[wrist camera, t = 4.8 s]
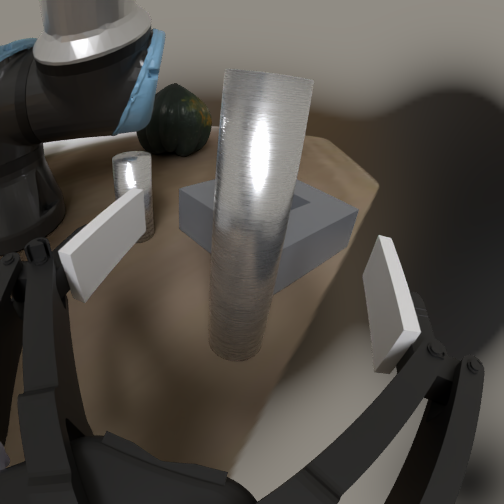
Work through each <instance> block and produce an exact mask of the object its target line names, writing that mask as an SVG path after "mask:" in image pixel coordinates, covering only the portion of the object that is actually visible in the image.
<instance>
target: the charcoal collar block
mask: <svg viewBox="0 0 504 504" xmlns="http://www.w3.org/2000/svg"><path fill="white" fill-rule="evenodd" d="M214 193H215V179H214V180H210V181H206V182H202V183H198V184H195V185H191V186H187V187H183V188H180V189H179V229H180V230H182V231H183V232H184V233H185V234H187V235H188V236H189V237H190V238H192V239H193V240H194V241H195V242H197V243H198V244H199V245H200V246H202V247H203V248H204V249H206V250H207V251H208V252H209V253H211V248H212V228H213V209H214ZM358 211H359V209H357V208H355V207H353V206H351V205H349V204H347V203H345V202H343V201H341V200H339V199H337V198H335V197H333V196H331V195H329V194H327V193H324V192H322V191H320V190H318V189H316V188H314V187H312V186H310V185H308V184H305V183H303V182H301V181H299V180H296V185H295V190H294V195H293V201H292V206H291V211H290V216H289V221H288V226H287V230H286V235H285V240H284V245H283V250H282V255H281V259H280V264H279V269H278V273H277V278H276V283H275V287H274V292H273V295H274V294H276V293H277V292H279V291H280V290H282V289H283V288H285V287H287V286H288V285H290V284H291V283H293V282H294V281H296V280H297V279H299V278H300V277H302V276H303V275H305V274H307V273H308V272H310V271H311V270H313V269H314V268H316V267H317V266H319V265H320V264H322V263H323V262H325V261H326V260H328V259H329V258H331V257H332V256H334V255H335V254H337V253H338V252H339V251H341V250H342V249H344V248H345V247H347V245H348V242H349V239H350V236H351V233H352V230H353V227H354V224H355V220H356V217H357V214H358Z"/></svg>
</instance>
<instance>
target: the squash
mask: <svg viewBox="0 0 504 504" xmlns="http://www.w3.org/2000/svg"><path fill="white" fill-rule="evenodd" d="M211 126H212V120H211V115H210V112H209V109H208V108H207V106H206V105H205V104H204V103H203V102H202V101H201V100H200V99H199V98H198V97H196V96H195V95H194V94H193V93H191V92H190V91H188V90H187V89H185V88H184V87H182V86H180V85H178V84H177V83H174V84H171V85H168V86H167V87H165V88H164V89H162V90H161V91H160V92H158V93H157V94H155V100H154V105H153V111H152V116H151V120H150V122H149V124H148V125H147V126H146V127H145V128H143V129H141V130H140V131H137V136H138V139H139V142H140V144H141V146H142V147H143V148H144V149H145V150H146V151H148V152H150V153H153V154H160V153H164V152H166V151H168V152H173V151H175V152H176V153H177V154H178V155H180V156H187V155H190V154H191V153H192V152H195V151H197V150H199V149H201V148H202V147H203V146H204V145H205V144H206V142H207V140H208V138H209V135H210V132H211Z"/></svg>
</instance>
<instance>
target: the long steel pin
mask: <svg viewBox="0 0 504 504" xmlns="http://www.w3.org/2000/svg"><path fill="white" fill-rule="evenodd" d="M313 84H314V80H311V79H306V78H300V77H294V76H288V75H281V74H275V73H267V72H259V71H250V70H238V69H225V76H224V85H223V95H222V105H221V116H220V127H219V138H218V151H217V164H216V178H215V193H214V209H213V228H212V248H211V273H210V304H209V344H210V347H211V348H212V350H213V351H214V352H215V353H216V354H217V355H218V356H220V357H221V358H223V359H226V360H230V361H244V360H248V359H250V358H252V357H253V356H255V355H256V354H257V353H258V352H259V350H260V348H261V344H262V340H263V336H264V332H265V327H266V323H267V318H268V314H269V310H270V305H271V301H272V296H273V292H274V287H275V283H276V278H277V273H278V269H279V264H280V259H281V255H282V250H283V245H284V240H285V235H286V230H287V226H288V221H289V216H290V211H291V206H292V201H293V195H294V190H295V185H296V180H297V175H298V169H299V164H300V159H301V153H302V148H303V142H304V137H305V131H306V125H307V120H308V114H309V108H310V102H311V96H312V90H313Z"/></svg>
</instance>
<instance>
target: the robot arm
mask: <svg viewBox="0 0 504 504" xmlns="http://www.w3.org/2000/svg"><path fill="white" fill-rule="evenodd" d="M39 2H40V9H41V15H42V20H43V26H44V30H43V31H42V33H41V34H40V36H39V37H38V39H36V38H28V39H21V40H18V41H14V42H11V43H9V44H7V45H2V46H0V255H5V254H6V255H5V256H4V257H2V258H1V259H0V504H337V503H338V502H339V500H340V497H341V496H342V494H344V492H346V491H347V490H348V489H349V488H350V487H351V486H352V485H353V483H355V482H356V481H357V480H358V478H359V477H360V476H361V475H362V474H363V473H364V472H365V471H366V470H367V469H368V468H369V467H370V466H371V465H372V463H373V462H374V461H375V460H376V459H377V458H378V457H379V455H380V454H381V453H382V452H383V450H385V448H386V447H387V446H388V445H389V444H390V442H391V441H392V440H393V439H394V437H395V436H396V434H398V432H399V431H400V430H401V428H402V427H403V426H404V424H405V423H406V422H407V420H408V419H409V418H410V416H411V415H412V413H413V412H414V411H415V409H416V408H417V406H418V405H419V403H420V402H421V400H422V399H423V397H424V398H426V399H428V402H427V405H426V408H425V411H424V414H423V417H422V420H421V423H420V425H419V428H418V431H417V434H416V436H415V439H414V441H413V444H412V446H411V449H410V451H409V453H408V456H407V458H406V460H405V463H404V465H403V467H402V469H401V471H400V473H399V476H398V478H397V480H396V482H395V484H394V486H393V488H392V490H391V492H390V494H389V496H388V497H387V499H386V501H385V503H384V504H455V501H456V498H457V496H458V493H459V490H460V487H461V484H462V481H463V478H464V475H465V471H466V468H467V465H468V461H469V457H470V454H471V450H472V445H473V441H474V436H475V432H476V427H477V422H478V416H479V411H480V405H481V398H482V390H483V382H484V367H483V365H482V363H481V362H480V360H479V359H478V358H476V357H475V356H473V355H466V356H465V357H463V358H462V360H461V361H459V360H457V359H455V358H452V357H450V356H448V355H447V350H446V349H445V347H444V345H443V344H442V343H441V342H439V341H438V340H436V339H435V338H434V334H433V331H432V327H431V324H430V320H429V317H428V314H427V311H426V308H425V304H424V301H423V300H422V299H421V297H420V296H419V295H418V293H416V292H411V291H409V288H408V285H407V283H406V279H405V276H404V273H403V270H402V267H401V264H400V261H399V258H398V256H397V253H396V250H395V247H394V244H393V242H392V239H391V238H388V237H384V236H380V235H379V236H378V238H377V240H376V243H375V245H374V248H373V251H372V253H371V256H370V258H369V261H368V263H367V266H366V268H365V271H364V273H363V282H364V288H365V295H366V302H367V308H368V317H369V325H370V333H371V343H372V353H373V364H374V372H376V373H385V374H390V373H391V372H392V370H393V369H394V368H395V367H396V368H397V375H396V376H395V377H394V378H393V380H392V381H391V382H390V383H389V384H388V385H387V387H386V388H385V389H384V390H383V391H382V393H381V394H380V395H379V396H378V397H377V398H376V399H375V400H374V401H373V403H372V404H371V405H370V406H369V407H368V408H367V409H366V410H365V411H364V412H363V413H362V414H361V415H360V416H359V418H357V419H356V420H355V421H354V423H352V424H351V425H350V426H349V427H348V428H347V429H346V430H345V431H344V432H343V433H342V434H341V435H340V436H339V437H338V438H337V439H336V440H335V441H334V442H333V443H332V444H330V445H329V446H328V447H327V448H326V449H325V450H324V451H323V452H322V453H320V454H319V455H318V456H317V457H316V458H315V459H313V460H312V461H311V462H310V463H309V464H307V465H306V466H305V467H304V468H303V469H301V470H300V471H299V472H298V473H296V474H295V475H294V476H293V477H291V478H290V479H289V480H287V481H286V482H285V483H283V484H282V485H281V486H279V487H278V488H277V489H275V490H274V491H272V492H271V493H270V494H268V495H267V496H265V497H264V498H262V499H261V500H260V501H258V502H257V501H256V499H255V498H254V497H253V495H252V494H251V493H250V492H249V491H248V490H247V489H246V488H244V487H243V486H242V485H240V484H239V483H237V482H236V481H234V480H232V479H230V478H228V477H227V473H228V472H225V471H221V470H216V469H212V468H209V467H205V466H201V465H197V464H187V463H175V462H164V461H160V460H158V459H157V458H155V457H154V456H152V455H151V454H149V453H148V452H146V451H145V450H143V449H142V448H140V447H139V446H138V445H136V444H135V443H133V442H131V441H128V440H126V439H124V438H121V437H119V436H117V435H115V434H112V433H110V432H108V431H106V433H105V436H97V435H95V436H94V435H93V432H92V430H91V428H90V426H89V424H88V422H87V419H86V416H85V412H84V408H83V403H82V399H81V394H80V389H79V384H78V379H77V373H76V367H75V361H74V354H73V347H72V339H71V331H70V321H69V309H68V299H67V296H66V293H67V292H68V291H69V290H71V293H72V296H73V298H74V299H76V300H79V301H81V302H84V303H85V302H86V301H87V300H88V299H89V297H90V296H91V295H92V294H93V292H94V291H95V290H96V289H97V287H98V286H99V285H100V284H101V282H102V281H103V280H104V279H105V278H106V276H107V275H108V274H109V273H110V272H111V270H112V269H113V268H114V267H115V266H116V264H117V263H118V262H119V261H120V260H121V259H122V257H123V256H124V255H125V254H126V253H127V252H128V251H129V249H130V248H131V247H132V246H133V245H134V244H135V243H136V241H137V240H138V239H139V238H140V237H141V236H142V235H143V234H144V233H145V231H146V223H145V209H144V193H143V190H142V189H136V188H132V189H130V190H129V191H128V192H126V193H125V194H124V195H123V196H121V197H120V198H119V199H118V200H116V201H115V202H114V203H113V204H111V205H110V206H109V207H108V208H106V209H105V210H104V211H103V212H102V213H100V214H99V215H98V216H97V217H96V218H95V219H93V220H92V221H91V222H90V223H89V224H88V225H87V224H86V225H84V226H82V227H80V228H78V229H76V230H75V231H74V232H73V233H72V234H71V235H70V236H69V237H67V238H66V240H64V241H63V242H62V243H61V244H60V245H59V246H58V247H56V248H55V249H54V250H53V251H51V248H50V244H49V241H48V239H47V238H43V237H45V236H46V235H48V234H49V233H50V232H51V231H53V230H54V229H55V228H56V227H57V226H58V224H59V223H60V222H61V221H62V219H63V217H64V215H65V205H64V199H63V195H62V192H61V190H60V188H59V186H58V184H57V182H56V180H55V178H54V176H53V174H52V172H51V170H50V168H49V166H48V164H47V162H46V160H45V156H44V149H43V143H46V142H52V141H60V140H68V139H77V138H86V137H97V136H110V135H111V136H115V135H117V134H121V133H128V132H136V131H140V130H141V129H143V128H145V127H146V126H147V125H148V124H149V122H150V120H151V116H152V111H153V105H154V100H155V93H156V88H157V81H158V73H159V69H160V64H161V59H162V54H163V49H164V43H165V32H164V31H160V30H157V29H152V30H151V16H150V14H149V13H148V11H146V10H145V9H143V8H142V7H140V6H139V5H137V4H136V0H39ZM23 248H24V250H25V253H26V256H27V259H28V261H21V259H20V256H19V254H18V253H15V252H16V251H19V250H21V249H23ZM11 296H12V298H11ZM22 345H23V382H24V393H23V394H19V396H18V401H17V404H18V415H19V424H20V431H21V438H22V444H23V450H24V456H25V461H24V462H21V463H19V464H16V465H14V466H11V467H8V468H6V469H5V467H7V466H8V465H9V463H10V458H9V456H8V455H7V454H6V453H5V449H4V446H5V442H6V437H7V433H8V426H9V418H10V410H11V402H12V395H13V389H14V383H15V378H16V372H17V367H18V363H19V358H20V354H21V349H22ZM226 477H227V478H226Z"/></svg>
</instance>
